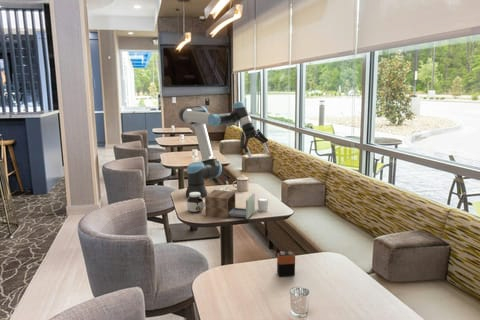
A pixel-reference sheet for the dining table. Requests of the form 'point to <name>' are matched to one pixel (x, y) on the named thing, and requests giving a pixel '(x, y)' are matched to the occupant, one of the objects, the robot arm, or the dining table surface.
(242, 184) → the teacup with lid
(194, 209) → the spread jar
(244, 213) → the pale green angular block
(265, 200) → the shot glass
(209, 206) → the box
